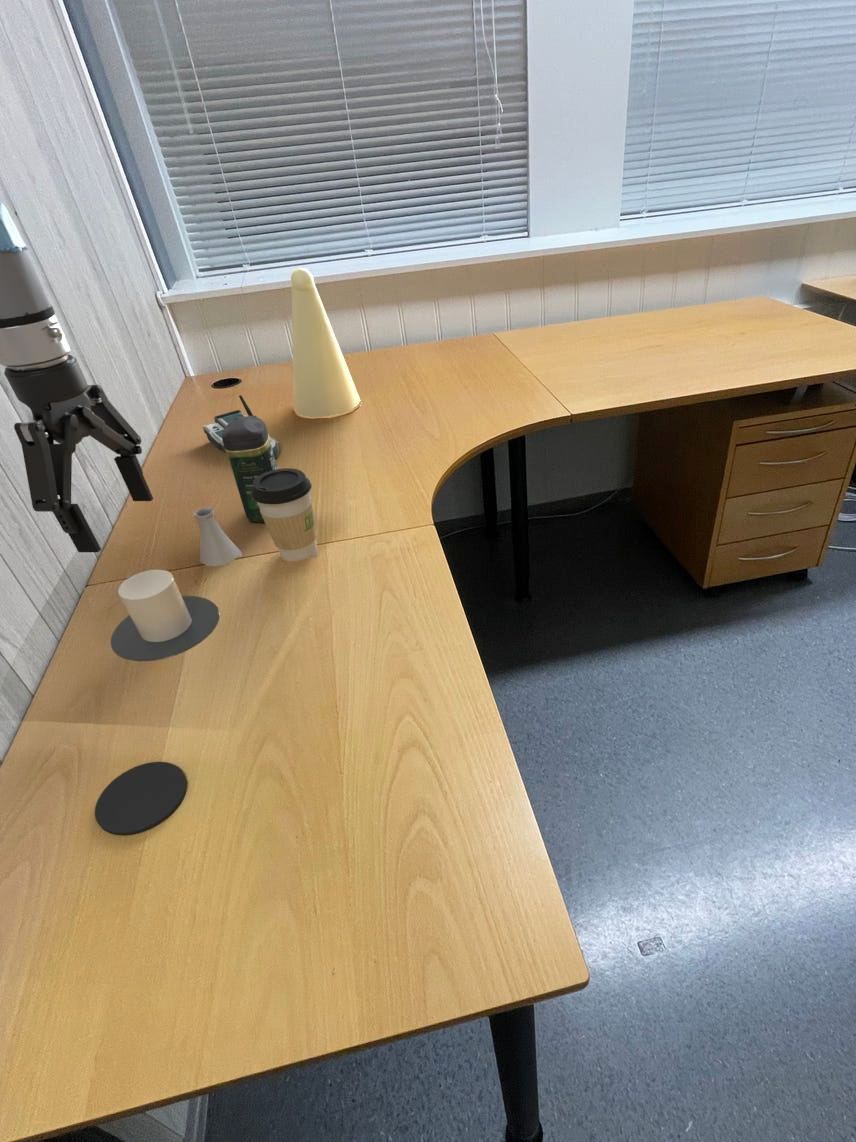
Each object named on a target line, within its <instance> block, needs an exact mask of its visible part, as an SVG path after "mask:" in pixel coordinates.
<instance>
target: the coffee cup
mask: <svg viewBox="0 0 856 1142" xmlns="http://www.w3.org/2000/svg"><path fill="white" fill-rule="evenodd" d="M311 490H312V482H311V480H310V479H309V478H308V477H307V476H306V474H305V473H304V471H302V470H300V469H297V468H292V467H290V468H289V467H288V468H287V467H286V468H284V467H283V468H277V469H276V470H271V471H268V472H265V473H263V474H261V475H259V476H258V477H257V478H255V480H254V481H253V488H252V491H251V493H252V498H253V499H254V500H255V501H256V502H257V503H258V506H259V508H260V513H261V515H262V517H263V519H264V522H263V523H264V524H265V526H266V529H267V530H268V533H269V535H270V538H271V539H272V541H273V544H274V546H275V547H276V548H277V551H278V553H279V555H280V557H281V559H283V560H285V561H288V562H300V561H304V560H307V559H309V558H310V559H311V558H313V559H314V558H315V557H316V556H317V557H318V554H317V553H318V547H317V539H316V538H317V532H316V522H315V515H314V506H313V500H312V498H311V497H312V496H311ZM317 557H316V558H317ZM316 558H315V559H316Z"/></svg>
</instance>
